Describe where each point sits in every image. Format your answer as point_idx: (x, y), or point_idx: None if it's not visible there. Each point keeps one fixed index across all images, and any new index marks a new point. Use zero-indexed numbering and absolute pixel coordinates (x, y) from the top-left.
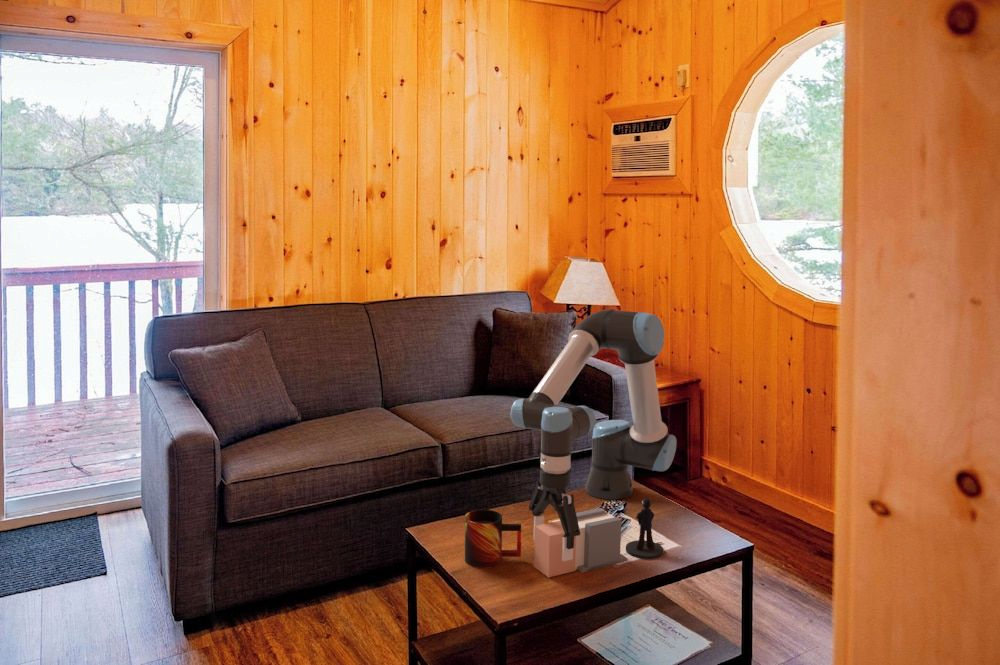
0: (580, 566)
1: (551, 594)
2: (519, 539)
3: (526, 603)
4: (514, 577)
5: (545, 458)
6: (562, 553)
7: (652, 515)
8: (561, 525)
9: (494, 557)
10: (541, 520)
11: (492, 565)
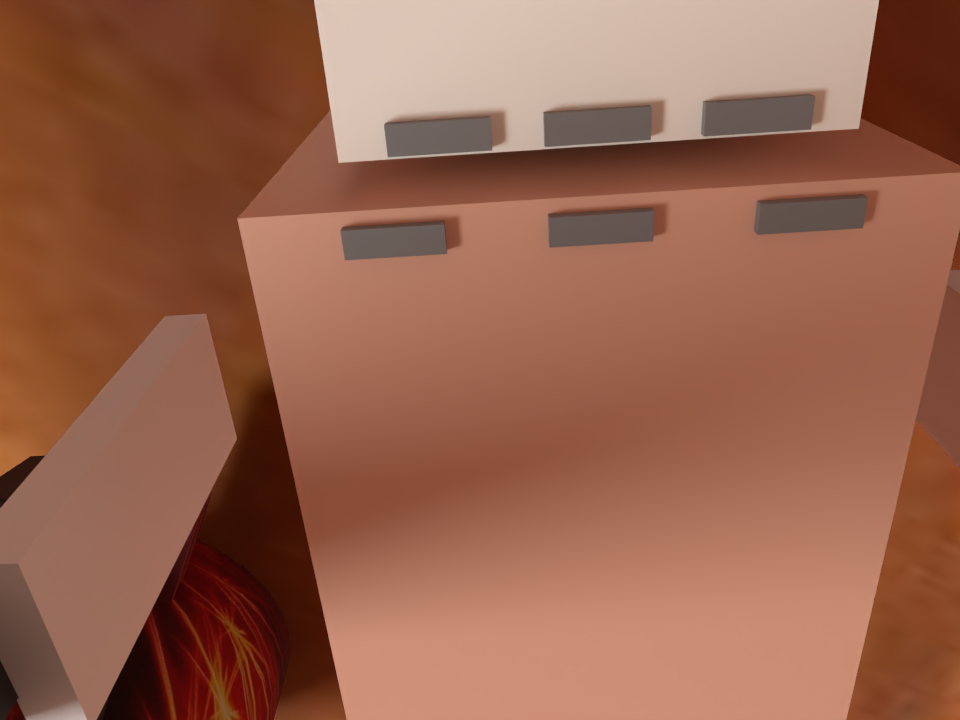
0: None
1: (919, 455)
2: None
3: (905, 641)
4: None
5: None
6: (957, 457)
7: None
8: (532, 358)
9: (264, 678)
10: (90, 547)
11: (282, 637)
